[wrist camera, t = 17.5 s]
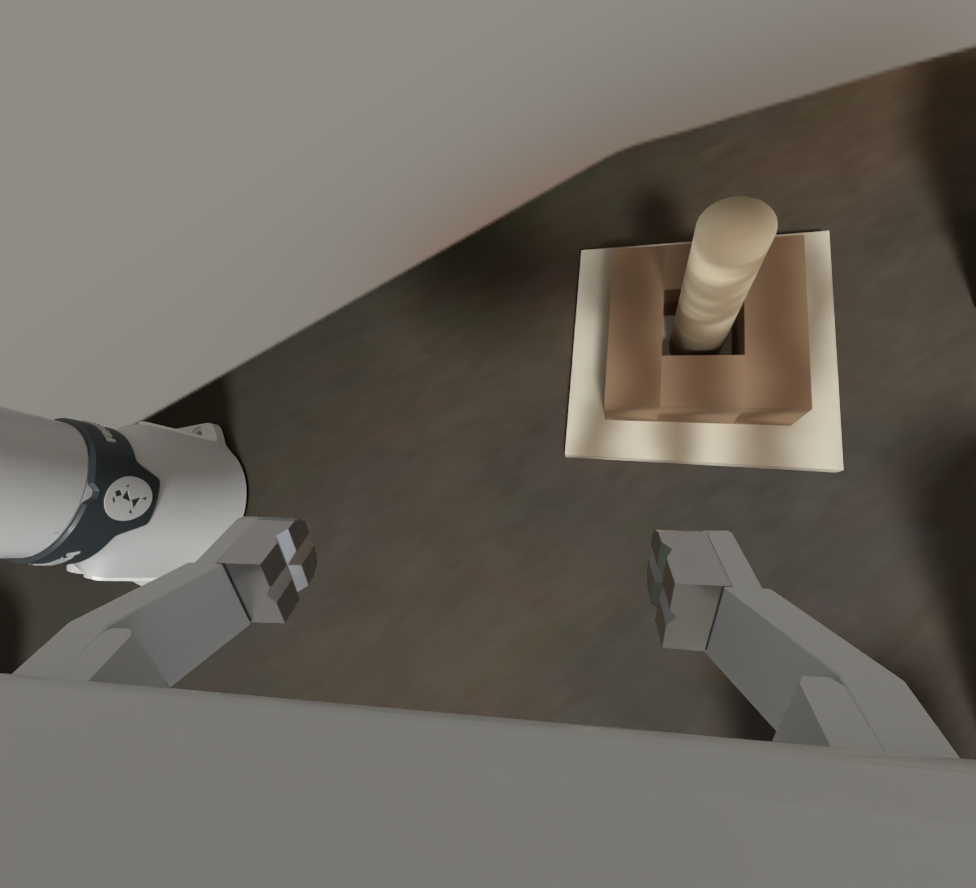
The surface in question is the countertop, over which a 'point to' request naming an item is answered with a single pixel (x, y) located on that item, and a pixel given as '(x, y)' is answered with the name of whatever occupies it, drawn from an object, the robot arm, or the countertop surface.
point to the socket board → (702, 438)
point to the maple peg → (720, 272)
